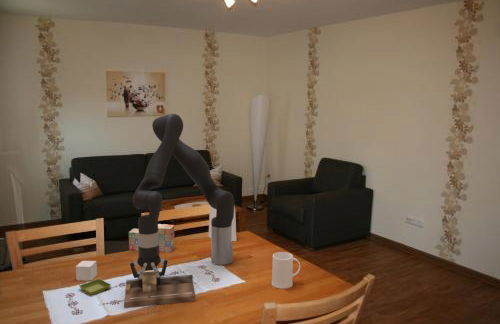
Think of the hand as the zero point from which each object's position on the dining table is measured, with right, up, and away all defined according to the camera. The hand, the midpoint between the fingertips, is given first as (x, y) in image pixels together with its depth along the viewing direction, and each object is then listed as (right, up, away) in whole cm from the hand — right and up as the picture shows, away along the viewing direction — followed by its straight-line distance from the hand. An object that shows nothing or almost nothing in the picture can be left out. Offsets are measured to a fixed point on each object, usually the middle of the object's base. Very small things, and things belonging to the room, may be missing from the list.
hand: (149, 286), depth 150 cm
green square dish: (-22, -3, +4) cm, 22 cm away
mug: (+52, -2, +10) cm, 54 cm away
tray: (+4, -3, -1) cm, 5 cm away
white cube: (-29, -1, +14) cm, 33 cm away
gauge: (+1, -1, -2) cm, 3 cm away
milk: (+23, +5, +63) cm, 67 cm away
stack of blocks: (-11, +3, +47) cm, 48 cm away
